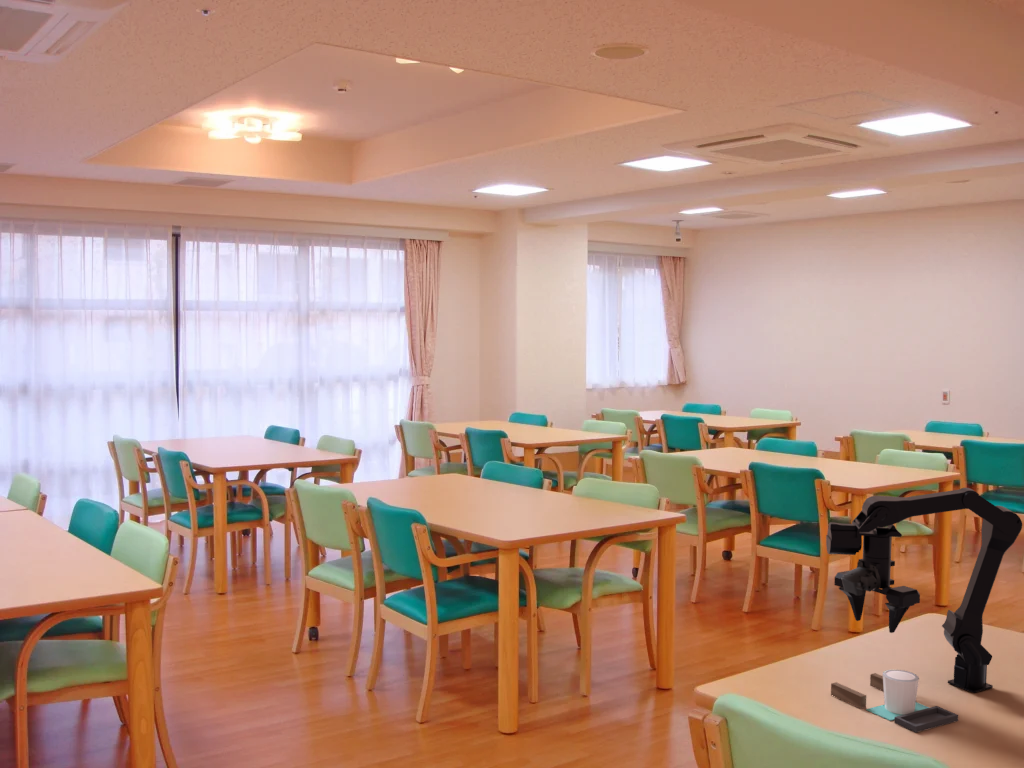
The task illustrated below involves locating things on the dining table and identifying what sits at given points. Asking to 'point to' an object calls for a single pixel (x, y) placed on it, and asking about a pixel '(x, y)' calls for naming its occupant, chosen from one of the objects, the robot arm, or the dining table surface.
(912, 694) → the white cup
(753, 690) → the dining table surface
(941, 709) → the trap pit
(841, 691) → the brown bar
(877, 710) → the teal pad
